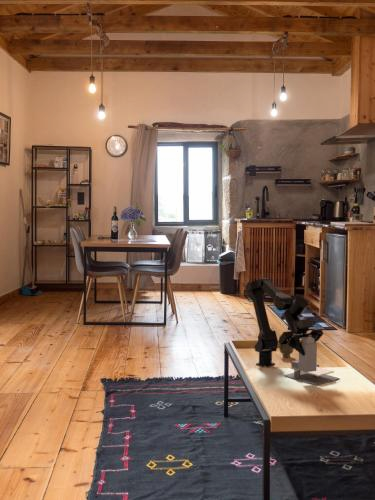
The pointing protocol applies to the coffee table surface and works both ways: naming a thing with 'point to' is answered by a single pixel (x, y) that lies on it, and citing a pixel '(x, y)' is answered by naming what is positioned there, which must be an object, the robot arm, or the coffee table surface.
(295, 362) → the trapdoor flap
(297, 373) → the stand
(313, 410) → the coffee table surface
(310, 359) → the stone pillar
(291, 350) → the cup
